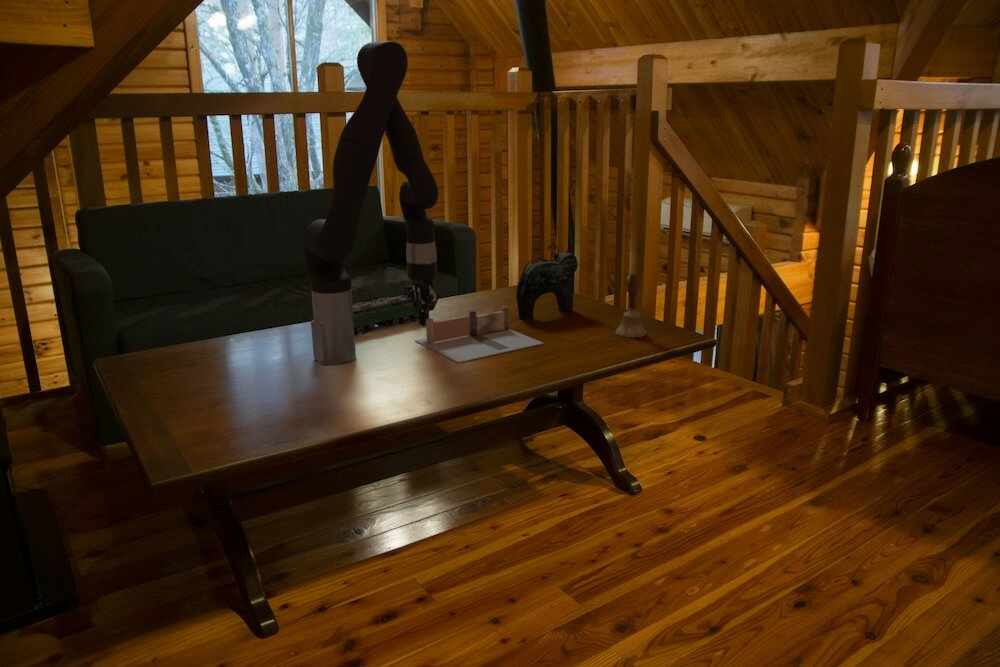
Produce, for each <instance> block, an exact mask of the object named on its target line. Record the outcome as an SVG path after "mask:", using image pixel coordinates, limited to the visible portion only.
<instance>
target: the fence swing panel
mask: <svg viewBox="0 0 1000 667" xmlns="http://www.w3.org/2000/svg"><path fill="white" fill-rule="evenodd" d="M425 327H426V331H425V332H426V338H427V343H434V342H438V341H443V340H448V339H453V338H457V337H462V336H467V335H470V316H469V315H463V316H457V317H453V318H446V319H441V320H437V321H434V318H431V317H429V318H428V319H426V326H425Z"/></svg>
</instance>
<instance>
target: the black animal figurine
mask: <svg viewBox="0 0 1000 667" xmlns="http://www.w3.org/2000/svg"><path fill="white" fill-rule="evenodd" d="M551 247H556V249H557V252H552V254H553V255H554V256H553V258H552V259H544V258H541V257H540V258H539V257H536V258H533V259H531V260H530V261H529V260H528V262H526V264H525V265H524V267H523V271H522V273H521V275H520V276H519V277H520V278H519V280H518V283H517V286H516V298H515V299H516V303H517V310H518V318H519V319H522V320H524V321H525V320H531V319H533V318H534V309H535V305H536V303H537V300H538V299H539V298H541V297H542V296H543V295H545V294H549V293H553V294H554V296H555V298H556V303H557V310H559V311H560V312H562V313H564V312H565V313H566V312H570V311H573V308H574V278H573V277H574V274H575V272H576V271H577V270H578V259H577V256H576V255H574V254H572V253H571V251H570V249H569V248H568V247H567V249H566V250H565V252H560V253H559V251H560V250H559V247H558V245H556V244H554V243H552V244H550V245H548V246H547V251H549V250H550V249H551ZM537 260H540V261H538V262H535V263H533V262H534V261H537ZM530 263H532V264H530ZM529 264H530V265H529Z"/></svg>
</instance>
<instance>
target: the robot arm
mask: <svg viewBox="0 0 1000 667" xmlns="http://www.w3.org/2000/svg"><path fill="white" fill-rule="evenodd" d="M408 63H409V61H408V54H407V52H406V50H405V47H403V46H402V45H401V43H399V42H397V41H393V40H380V41H371V42H368V43H365V44H363V46H362V47H360V49H359V51H358V53H357V57H356V66H357V69H358V72H359V75H360V77H361V79H362V81H363V83H364V86H365V92H364V95H363V97H362V99H361V101H360V102H359V105H358V106H357V108H356V109H355V111H353V113H352V115H351V116H350V118H348V120H347V122H346V124H345V125H344V127H343V129H342V131H341V134H340V136H339V139H338V142H337V146H336V148H335V151H334V152H335V153H334V156H333V161H332V182H333V183H332V184H333V188H332V189H333V192H332V199H331V203H330V206H329V210H328V213H327V216H326V217H325V219H324V218H322V219H321V218H319V219H317V220H314V221H311V223H309V225H307V227H306V229H305V231H304V235H303V236H304V237H303V251H304V258H305V259H304V260H305V268H306V275H307V277H308V280H309V281H310V288H311V289H310V290H311V300H312V314H313V315H312V316H313V319H312V320H311V321H310V326H311V327H310V329H311V339H312V352H313V354H312V355H313V359H314V360H315V361H317V362H318V363H319V364H321V365H323V366H325V365H340V364H344V363H349V362H352V361H354V360H355V359H356V358H357V353H356V351H357V350H356V349H357V348H356V337H355V333H354V320H353V305H354V304H353V294H352V293H353V292H352V279H351V276H350V274H349V273H348V272H347V270H346V267H345V265H344V261H346V259H347V258H348V257H350V255H351V253H352V251H353V250H354V246H355V242H356V238H357V237H356V236H357V233H358V227H359V222H360V217H361V216H360V215H361V212H362V208H363V204H364V201H365V197H366V195H367V191H368V188H369V184H370V181H371V177H372V174H373V171H374V169H375V167H376V162H377V160H378V156H379V152H380V149H381V144H382V141H383V138H384V135H386V138H387V141H388V144H389V148H390V151H391V154H392V158H393V162H394V164H395V167H396V170H397V171H398V172H400V173H401V174H403V176H405V177H406V179H405V180H404V181H403V182H402V183H401V185H400V188H399V192H398V193H399V194H398V197H399V198H398V200H399V204H400V208H401V213H402V217H403V219H404V223H405V227H406V228H405V229H406V250H405V252H406V273H407V274H406V275H407V278H408V279H409V280H410V281H411V280H412V281H411V285H408V287H407V291H408V293H409V295H410V297H411V300H412V303H413V305H414V307H417V311H419V320H418V324H419V326H421V327H426V319H428V318H430V312H431V311H432V312H433V311H434V310H435V308H436V306H437V304H438V301H439V299H440V294H439V293H436V292H435V285H434V279H436V278H437V276H438V265H437V264H438V261H437V260H438V259H437V258H438V257H437V246H436V234H435V223H434V220H433V219H432V218H431V217H429V216H428V215H427V211H426V210H429V209H432V208H434V206H435V205H436V204H437V202H438V200H439V187H438V184H437V181H436V180H435V177H434V175H433V174H432V173H433V172H431V170H430V168H429V166H428V164H427V162H426V161H425V158H424V154H423V151H422V147H421V144H420V140H419V136H418V134H417V131H416V129H415V127H414V126H413V123H412V122H411V119H409V117H408V115H407V114H406V111H405V110H404V108H403V106H402V104H401V103H400V100H399V98H398V94H399V91H400V90H401V87H402V85H403V82H404V80H405V77H406V75H407V70H408V65H409V64H408Z"/></svg>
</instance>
